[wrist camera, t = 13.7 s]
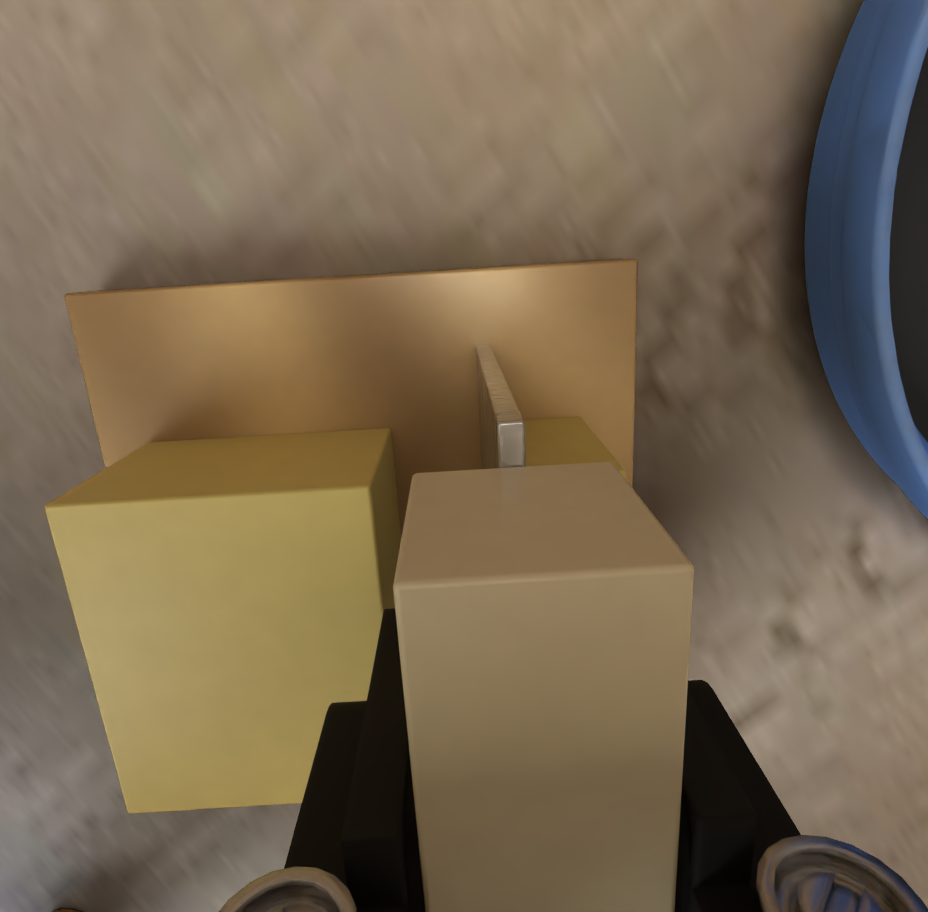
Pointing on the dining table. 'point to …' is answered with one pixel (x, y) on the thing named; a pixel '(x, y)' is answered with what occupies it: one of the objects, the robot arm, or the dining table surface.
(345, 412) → the board
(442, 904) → the knife
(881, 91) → the bowl
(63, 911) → the ice cream cone
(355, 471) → the butter block
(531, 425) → the butter slice
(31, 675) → the dining table surface
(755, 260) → the dining table surface
